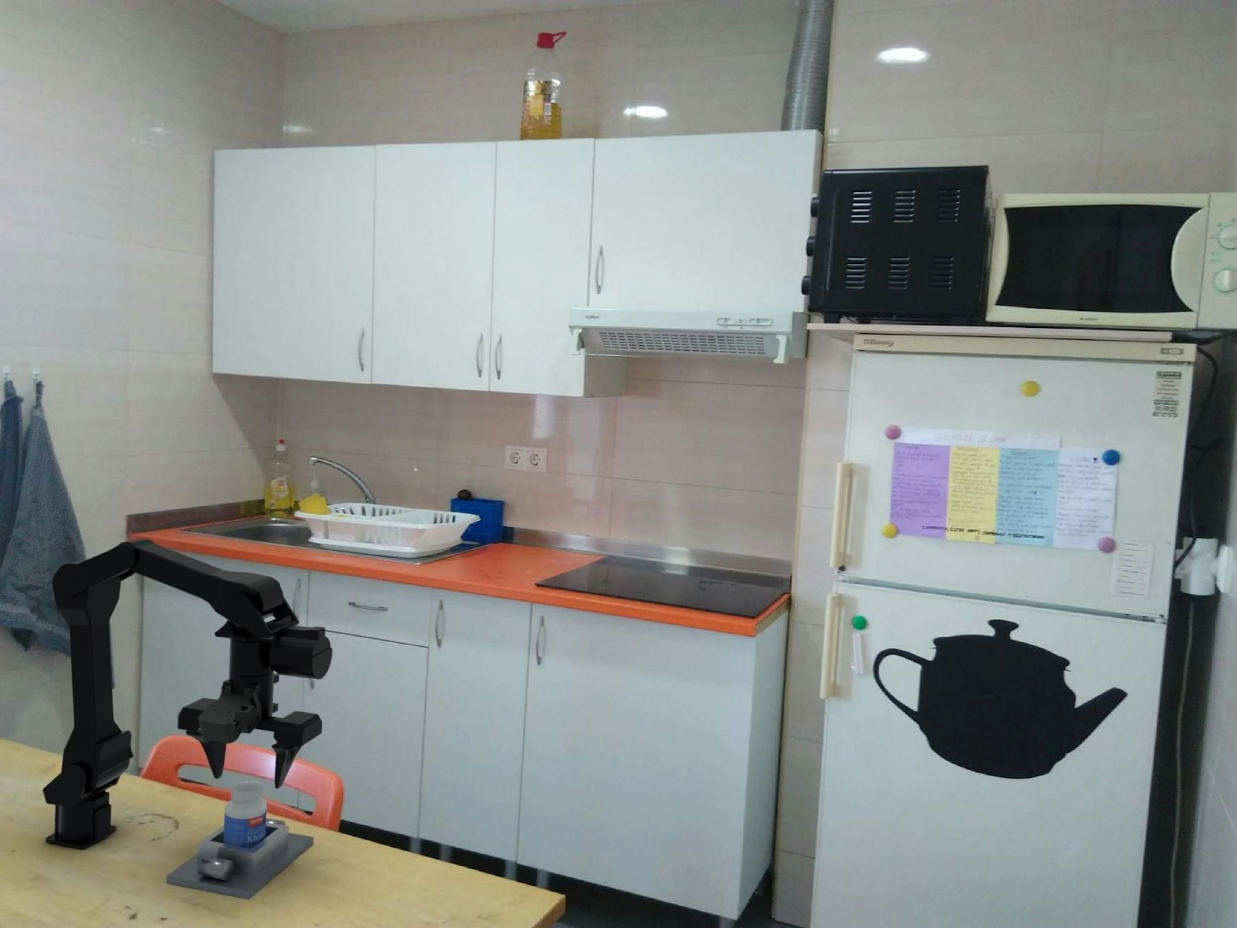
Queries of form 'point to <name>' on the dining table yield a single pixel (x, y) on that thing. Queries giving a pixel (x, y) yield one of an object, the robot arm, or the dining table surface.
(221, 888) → the base
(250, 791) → the pill bottle
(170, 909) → the dining table surface
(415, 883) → the dining table surface
